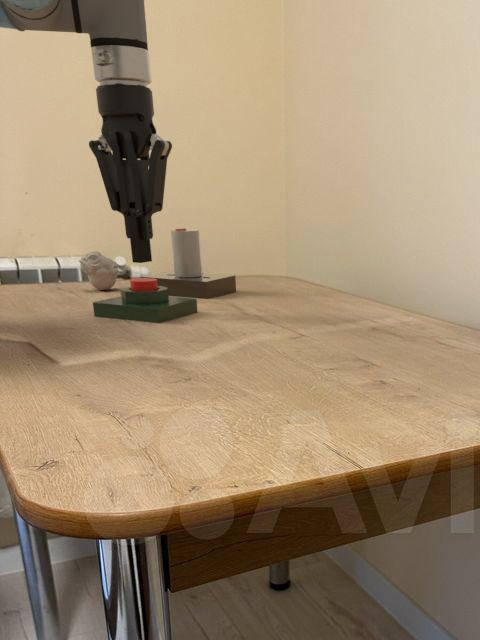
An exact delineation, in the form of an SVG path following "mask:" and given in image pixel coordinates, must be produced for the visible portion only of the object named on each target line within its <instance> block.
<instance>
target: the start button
mask: <svg viewBox="0 0 480 640" xmlns="http://www.w3.org/2000/svg"><path fill="white" fill-rule="evenodd" d="M129 286H131V290H133V291H152V290H158V284H157V279H154V278H140V277H137V278H131V279H129Z"/></svg>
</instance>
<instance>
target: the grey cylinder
mask: <svg viewBox="0 0 480 640" xmlns="http://www.w3.org/2000/svg"><path fill="white" fill-rule="evenodd" d="M170 237H171V238H170V239H171V248H172V249H171V250H172V262H173V271H174V274H175V276H176V277H185V278H189V277H200V276H202V272H203V266H202V251H201V250H202V249H201V237H200V230H199V229H195V228H185V227H182V228H181V227H180V228H174V229H171V230H170Z"/></svg>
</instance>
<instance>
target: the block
mask: <svg viewBox="0 0 480 640" xmlns="http://www.w3.org/2000/svg"><path fill="white" fill-rule="evenodd" d="M197 299H198V298H189V297H178V296H169V294H168V288H167V287H163V286H158V290H152V291H133V290H131V285H129V286H126V287H122V288H121V289H120V296H116V297H111V298H107V299H103V300H98V301H93V302H92V307H93V315H94V317H95V318H102V319H103V318H104V319H115V320H124V321H133V322H144V323H151V324H152V323H153V324H162V323H166V322H169V321H173V320H177V319H180V318H184V317H186V316H187V317H188V316H191V315H194V314H198V313H199V312H198V300H197Z"/></svg>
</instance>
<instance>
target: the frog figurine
mask: <svg viewBox="0 0 480 640" xmlns="http://www.w3.org/2000/svg"><path fill="white" fill-rule="evenodd" d="M78 262H79V266H80V269H82V271H83V273H85V274H86V275H87V278H88V281H89V283H90V284H91V286H92V287H93V288H95V289H96V290H99V291H108V290H111V289H112V288H113V287H114V286H115V284H116V282H117V277H118V275H119V269H118V268H119V264H118V263H117V262H116V261H114V260H113V259H111V258H110V257H109V258H108V257H106V256H105V255H103V254H102V253H101V252H99V251H97V250H94V251H90V252H86V253H85V254H84V256H82V257H81V258H80V259H78Z"/></svg>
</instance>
